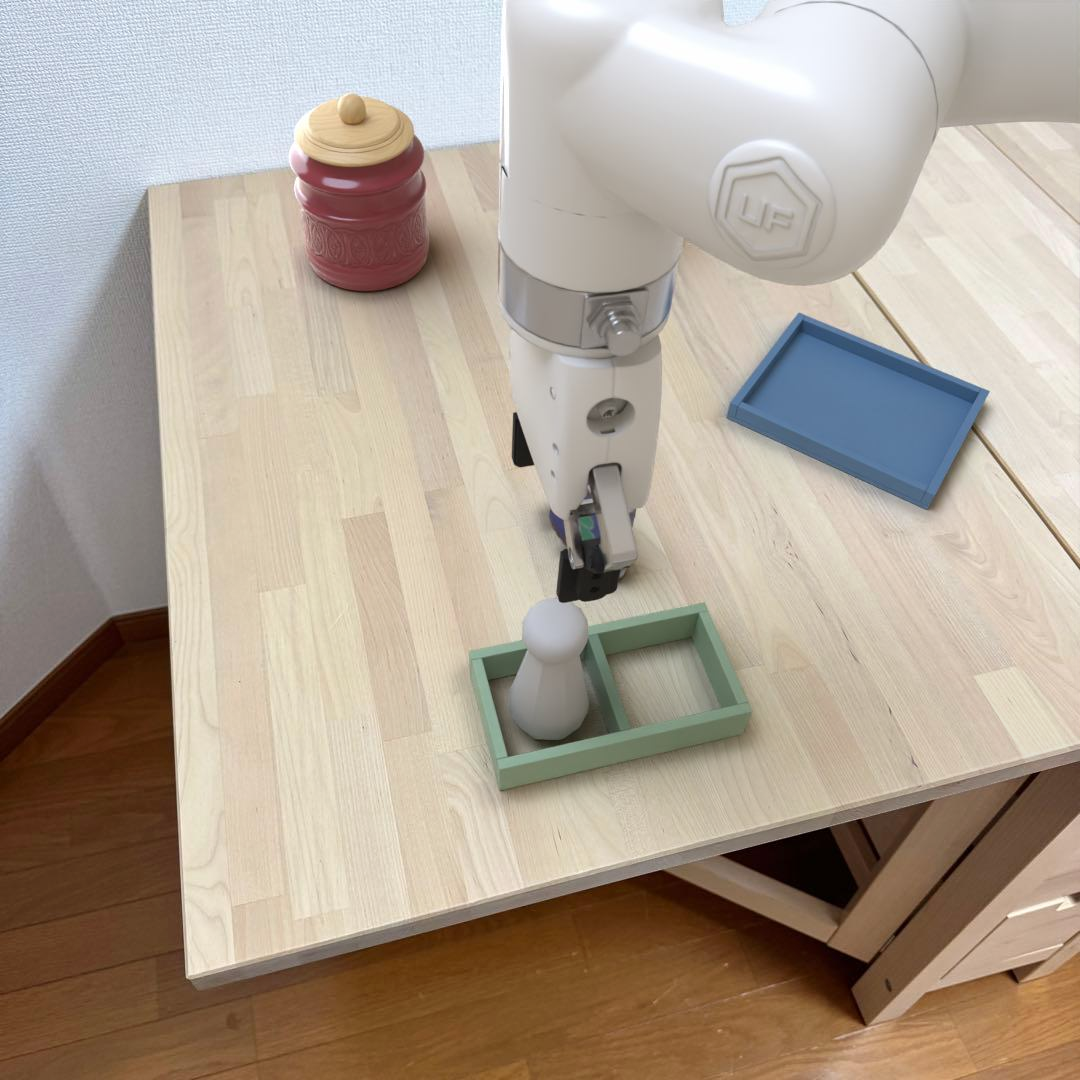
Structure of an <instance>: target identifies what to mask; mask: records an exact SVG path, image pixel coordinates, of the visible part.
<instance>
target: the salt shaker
mask: <svg viewBox="0 0 1080 1080" xmlns="http://www.w3.org/2000/svg"><path fill="white" fill-rule="evenodd" d="M588 626H589V623H588V619H587V616H586V614H585V613H584V612H583V609H582V608H581V607H579V606H578V605H577V604H576V603H573V601H572V602H567V603H561V602H559V600H558V597H551V598H546V599H541V600H539V601H538V602H537V603H535V604H533V605H531V606H530V607H529V609H528V611H527V613H526V614H525V615H524V617H523V620H522V627H521V631H522V632H521V640H522V641H523V642H524V644H525V646H526V648H527V652H526V654H525V657H524V659H523V661H522V664H521V666H520V668H519V671H518V673H517V674H515V678H514V680H513V682H512V685H511V687H510V689H509V691H508V692H509V693H508V694H509V695H508V710H509V712H510V714H511V716H512V718H513V720H514V722H515V724H516V726H517V727H518V728H520V729H521V730H522V731H524V732H525V733H526V734H527V735H529V736H530V737H531V738H532V739H534V740H547V741H560V740H563V739H565V738H567V737H568V736H569V735H571V734H572V733H573V732H575V731H577V730H578V729H579V728H580V727H581V725H582V724H583V722H584V720H585V718H586V716H587V715H588V712H589V711H590V703H589V702H590V701H589V700H590V699H589V690H588V686H587V682H586V681H587V680H586V678H585V673H584V670H583V665H582V660H580V656H579V655H580V654H581V652H582V650H583V649H584V647H585V645H586V643H587V641H588Z"/></svg>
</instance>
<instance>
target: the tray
mask: <svg viewBox="0 0 1080 1080" xmlns="http://www.w3.org/2000/svg"><path fill="white" fill-rule="evenodd" d="M990 392H991V391H990V390H989V389H986V388H984V387H980V386H978V385H976V384H973V383H971V382H968V381H966V380H964V379H961V378H959V377H956V376H954V375H951V374H949V373H947V372H945V371H943V370H939V369H937V368H934V367H933V366H929V365H927V364H925V363H922V362H920V361H917V360H915V359H913V358H910V357H908V356H905V355H903V354H902V353H901V354H900V353H898V352H896V351H893V350H891V349H888V348H886V347H884V346H881V345H879V344H877V343H874V342H872V341H869V340H868V339H864V338H862V337H861V336H860V337H859V336H857V335H854V334H852V333H849V332H847V331H845V330H843V329H840V328H837V327H835V326H833V325H831V324H829V323H826V322H823V321H822V320H821V321H820V320H819V319H816V318H813V317H811V316H809V315H806V314H804V313H802V312H798V313H797V314H796V315H795V316H794V318H793V319H792V320H791V322H790V323H789V324H788V326H787V327H786V328H785V329H784V331H783V332H782V333H781V335H780V336H779V337H778V339H777V340H776V341H775V343H774V344H773V346H772V347H771V348H770V349H769V350H768V352H767V354H766V355H765V356H764V358H763V359H762V360H761V361H760V362H759V364H758V365H757V366H756V368H755V369H754V370H753V372H752V373H751V374H750V376H749V377H748V378H747V380H746V381H745V382H744V384H742V386H741V388H740V389H739V390H738V392H737V393H736V394H735V396H734V397H733V398H732V400H731V401H730V402H729V406H728V408H727V413H726V419H728V420H730V421H732V422H734V423H737V424H739V425H740V426H743V427H745V428H747V429H750V430H752V431H753V432H757V433H759V434H761V435H762V436H765V437H767V438H770V439H771V440H773V441H776V442H778V443H780V444H783V445H785V446H787V447H789V448H791V449H794V450H795V451H798V452H800V453H802V454H804V455H807V456H809V457H811V458H813V459H815V460H817V461H820V462H822V463H824V464H826V465H828V466H830V467H833V468H835V469H837V470H839V471H841V472H843V473H846V474H848V475H850V476H852V477H855V478H857V479H859V480H861V481H863V482H865V483H868V484H870V485H872V486H875V487H876V488H879V489H881V490H883V491H885V492H887V493H889V494H891V495H894V496H896V497H898V498H900V499H902V500H905V501H907V502H909V503H911V504H913V505H916V506H918V507H920V508H921V509H924V510H926V511H927V510H928V509H929V508H930V505H932V504H931V503H932V502H933V500H934V498H935V497H936V494H937V493H938V491H939V489H940V487H941V485H942V483H943V482H944V479H945V477H946V476H947V474H948V472H949V470H950V469H951V466H952V464H953V462H954V460H955V459H956V458H957V455H958V453H959V451H960V449H961V448H962V445H963V443H964V441H965V440H966V438H967V436H968V434H969V432H970V430H971V428H972V427H973V424H974V422H975V420H976V419H977V417H978V415H979V413H980V411H981V410H982V408H983V405H984V403H985V402H986V400H987V398H988V396H989V394H990Z"/></svg>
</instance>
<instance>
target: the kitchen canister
mask: <svg viewBox="0 0 1080 1080" xmlns="http://www.w3.org/2000/svg"><path fill="white" fill-rule="evenodd" d="M293 138H294V142H293V144H292V145H291V147H290V150H289V154H288V162H289V166H290V168H291V170H292V171H293V173H294V174H295V176H296V178H295V181H294V187H293V188H294V189H293V190H294V196H295V199H296V201H297V203H298V207H299V213H300V219H301V224H302V230H303V246H304V252H305V255H306V257H307V259H308V261H309V264H310V266H311V268H312V270H313V271H314V273H315V274H316V275H317V276H318V277H319V278H320V279H322V280H323V281H325V282H326V283H328V284H331V285H333V286H335V287H338V288H341V289H344V290H349V291H358V292H374V291H381V290H386V289H387V290H388V289H391V288H393V287H396V286H399V285H402V284H404V283H405V282H407V281H409V280H411V279H412V278H413V277H415V276H416V275H417V274H418V273H419V272H420V271H421V270H422V269H423V267H424V266H425V264H426V262H427V260H428V253H429V249H430V232H429V231H430V230H429V227H428V224H427V206H426V190H427V179H426V176H425V174H424V172H423V170H422V169H421V168H422V166H423V163H424V160H425V149H424V146H423V143H422V142H421V140H420V138H419V137H418V136H417V135H416V134H415V127H414V124H413V121H412V120H411V118H410V117H409V116H408V115H407V114H406V113H405V112H403V111H402V110H400V109H399V108H397V107H395V106H393V105H390V104H389V103H387V102H384V101H382V100H380V99H378V98H377V99H376V98H374V97H368V96H360V95H358V94H356V93H353V92H349V93H345V94H343V95H342V96H341V97H336V98H332V99H329V100H327V101H324V102H322V103H321V104H318V105H317V106H316V107H315V108H313V109H311V110H309V111H308V112H307V113H305V114H304V115H303V116H302V117H301V118H300V119H299V120H298V121H297V123H296V125H295V127H294V131H293Z"/></svg>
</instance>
